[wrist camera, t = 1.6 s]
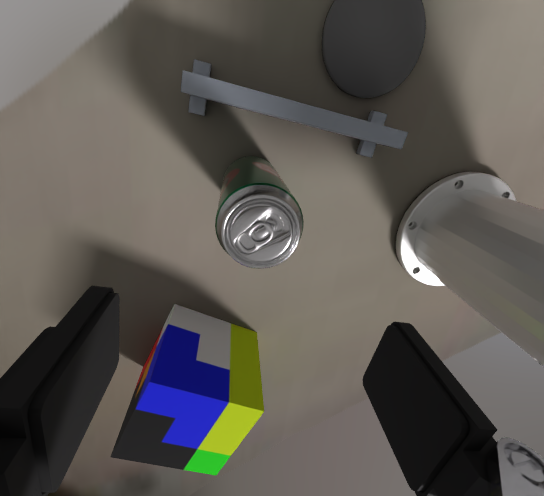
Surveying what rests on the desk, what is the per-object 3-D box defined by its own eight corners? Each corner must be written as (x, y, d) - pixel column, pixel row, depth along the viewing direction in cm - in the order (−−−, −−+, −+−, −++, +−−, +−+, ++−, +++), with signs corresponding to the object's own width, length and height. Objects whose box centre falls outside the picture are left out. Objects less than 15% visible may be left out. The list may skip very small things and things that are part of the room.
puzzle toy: (174, 303, 31) (149, 381, 22) (256, 331, 34) (264, 411, 25) (143, 366, 34) (110, 457, 25) (220, 387, 37) (216, 475, 28)
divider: (383, 114, 25) (415, 114, 20) (368, 156, 26) (395, 165, 22) (195, 60, 22) (184, 47, 17) (189, 111, 23) (178, 111, 19)
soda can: (288, 191, 27) (323, 244, 16) (244, 220, 28) (249, 289, 17) (258, 143, 25) (276, 167, 14) (211, 176, 26) (193, 223, 15)
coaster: (438, -6, 22) (443, -9, 21) (396, 108, 25) (399, 108, 24) (341, -45, 20) (344, -49, 20) (309, 83, 23) (311, 82, 23)
